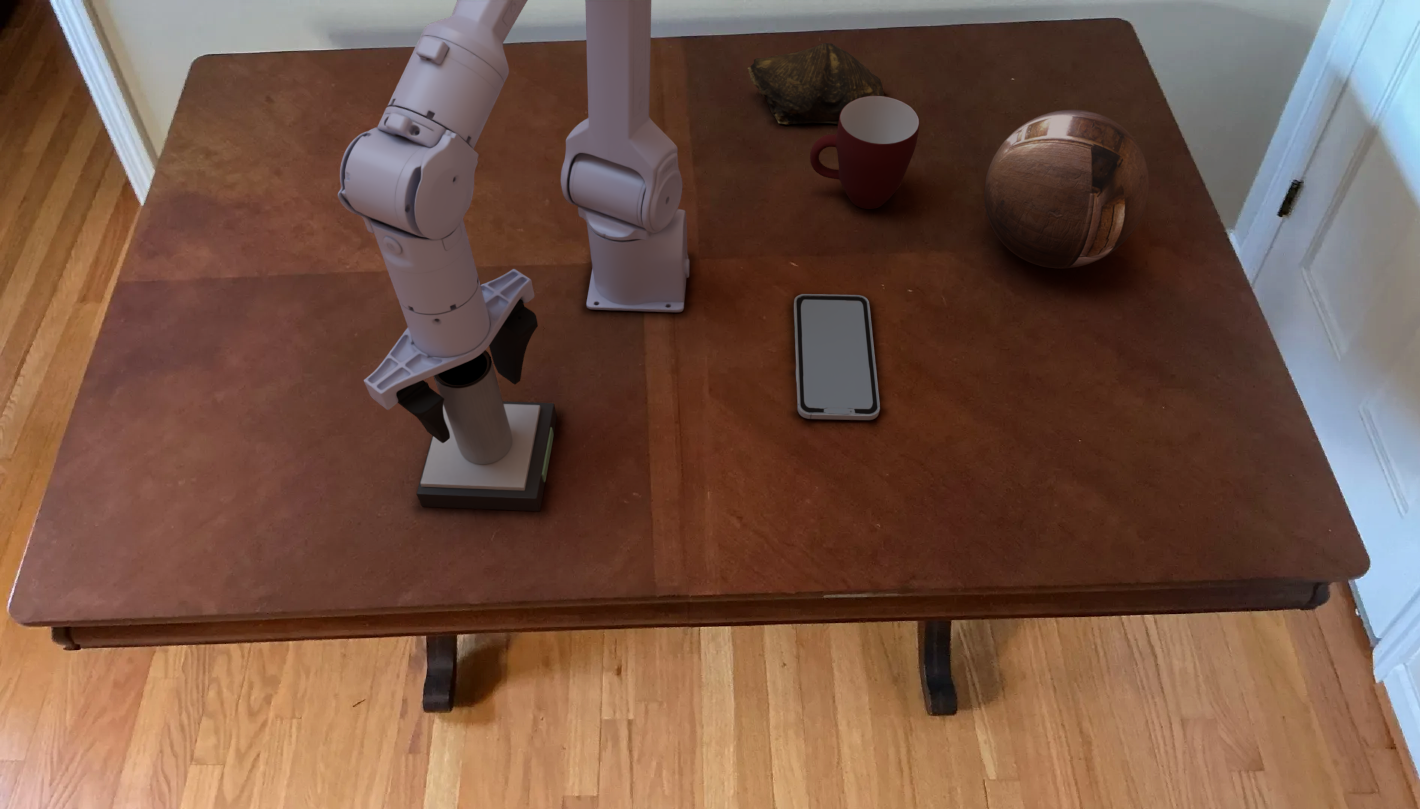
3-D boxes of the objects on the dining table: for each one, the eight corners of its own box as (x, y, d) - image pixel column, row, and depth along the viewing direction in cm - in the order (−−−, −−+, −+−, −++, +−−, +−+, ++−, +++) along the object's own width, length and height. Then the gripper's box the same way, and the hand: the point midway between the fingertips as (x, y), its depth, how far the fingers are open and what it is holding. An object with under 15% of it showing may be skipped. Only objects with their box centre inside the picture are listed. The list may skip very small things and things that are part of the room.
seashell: (880, 76, 120) (891, 32, 114) (886, 135, 117) (898, 93, 110) (745, 75, 120) (748, 31, 114) (747, 135, 116) (750, 93, 110)
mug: (809, 223, 105) (817, 145, 97) (804, 173, 110) (811, 95, 102) (909, 222, 105) (925, 144, 97) (900, 172, 110) (914, 94, 102)
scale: (558, 416, 89) (555, 399, 87) (541, 511, 83) (537, 495, 81) (446, 412, 90) (440, 395, 88) (421, 506, 84) (414, 490, 82)
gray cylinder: (519, 454, 84) (498, 376, 76) (467, 472, 83) (440, 395, 75) (504, 415, 86) (482, 335, 78) (452, 432, 85) (425, 353, 77)
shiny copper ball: (965, 195, 108) (996, 73, 96) (1106, 203, 107) (1155, 81, 95) (976, 295, 98) (1012, 174, 87) (1131, 304, 98) (1188, 183, 86)
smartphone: (868, 295, 97) (881, 416, 88) (867, 301, 98) (880, 421, 89) (793, 293, 98) (797, 414, 88) (792, 299, 98) (797, 420, 89)
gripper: (476, 207, 75) (506, 329, 85) (316, 317, 68) (371, 435, 78) (542, 248, 72) (565, 370, 83) (383, 367, 65) (430, 483, 76)
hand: (474, 404), depth 80 cm, fingers open, 7 cm apart
